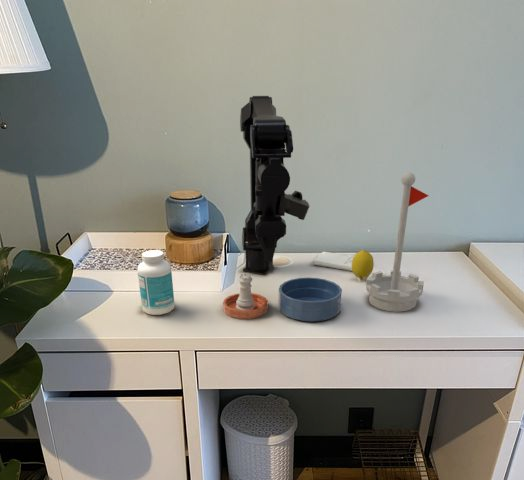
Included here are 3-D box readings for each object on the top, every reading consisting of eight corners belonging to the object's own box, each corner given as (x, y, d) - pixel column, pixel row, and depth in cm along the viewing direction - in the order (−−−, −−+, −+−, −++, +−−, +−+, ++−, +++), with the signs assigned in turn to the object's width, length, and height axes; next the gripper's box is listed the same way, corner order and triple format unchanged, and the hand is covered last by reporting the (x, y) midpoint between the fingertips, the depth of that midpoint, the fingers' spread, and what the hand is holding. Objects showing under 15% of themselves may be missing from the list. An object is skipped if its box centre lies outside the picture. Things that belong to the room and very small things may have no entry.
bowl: (268, 314, 126) (268, 294, 123) (293, 292, 137) (294, 273, 135) (327, 328, 120) (328, 307, 118) (348, 303, 131) (350, 284, 129)
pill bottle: (180, 305, 130) (176, 249, 124) (165, 318, 124) (160, 260, 118) (151, 300, 132) (146, 246, 126) (136, 313, 126) (129, 256, 120)
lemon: (358, 285, 141) (361, 255, 137) (346, 277, 146) (348, 248, 142) (376, 281, 144) (379, 251, 140) (363, 274, 148) (366, 245, 144)
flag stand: (375, 315, 126) (390, 180, 111) (357, 292, 137) (369, 167, 122) (429, 311, 128) (451, 178, 113) (408, 289, 139) (425, 165, 124)
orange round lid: (215, 313, 126) (214, 305, 125) (237, 297, 134) (236, 289, 133) (254, 323, 122) (254, 314, 121) (275, 305, 130) (275, 297, 129)
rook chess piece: (256, 304, 130) (256, 272, 126) (254, 312, 126) (253, 279, 122) (237, 303, 130) (236, 271, 126) (234, 311, 126) (233, 278, 122)
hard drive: (323, 256, 160) (365, 262, 155) (312, 265, 153) (356, 272, 149) (323, 250, 159) (365, 257, 155) (313, 259, 153) (357, 266, 148)
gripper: (312, 193, 109) (309, 269, 116) (303, 173, 125) (300, 241, 132) (255, 194, 108) (255, 269, 116) (253, 174, 124) (253, 241, 132)
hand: (268, 254), depth 124 cm, fingers open, 9 cm apart
